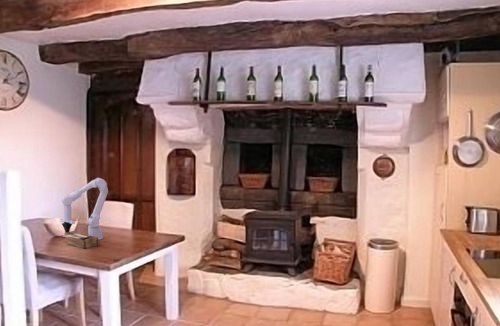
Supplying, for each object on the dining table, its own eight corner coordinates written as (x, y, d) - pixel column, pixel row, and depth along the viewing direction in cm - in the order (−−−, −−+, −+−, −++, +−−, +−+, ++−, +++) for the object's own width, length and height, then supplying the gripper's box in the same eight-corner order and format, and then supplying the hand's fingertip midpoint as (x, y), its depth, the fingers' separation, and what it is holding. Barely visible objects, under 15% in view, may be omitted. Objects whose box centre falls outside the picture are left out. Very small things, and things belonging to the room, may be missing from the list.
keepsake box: (81, 241, 330) (81, 233, 330) (98, 245, 320) (97, 237, 319) (67, 244, 321) (67, 236, 321) (83, 248, 311) (83, 240, 310)
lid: (74, 234, 333) (74, 230, 333) (88, 237, 324) (88, 233, 324) (62, 236, 325) (62, 233, 325) (76, 239, 316) (76, 236, 316)
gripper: (55, 213, 330) (55, 232, 331) (68, 215, 322) (68, 235, 322) (64, 212, 336) (65, 231, 337) (77, 214, 327) (77, 233, 328)
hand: (67, 233), depth 330 cm, fingers closed
